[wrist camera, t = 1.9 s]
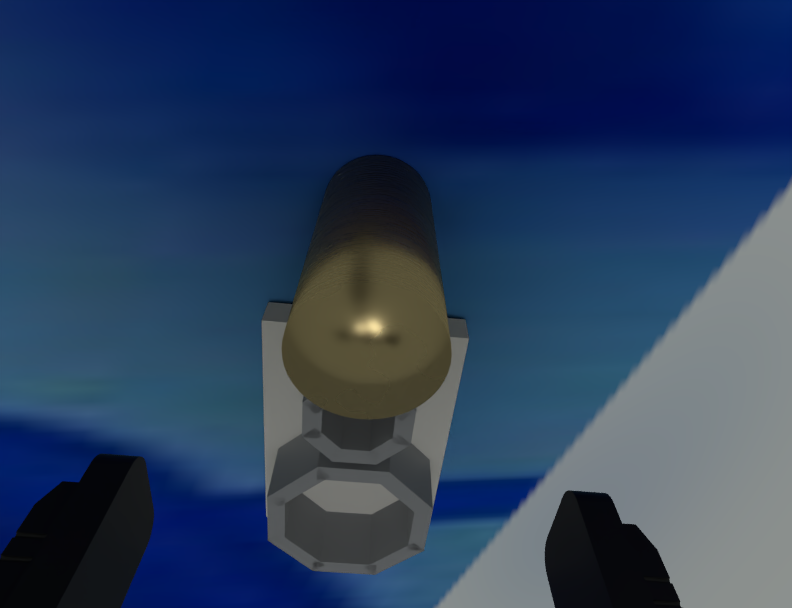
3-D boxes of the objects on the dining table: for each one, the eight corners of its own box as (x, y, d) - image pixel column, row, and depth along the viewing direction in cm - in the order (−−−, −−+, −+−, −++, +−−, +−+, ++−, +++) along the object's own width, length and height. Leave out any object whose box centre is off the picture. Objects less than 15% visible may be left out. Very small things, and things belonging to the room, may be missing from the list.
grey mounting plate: (268, 302, 25) (245, 363, 22) (465, 319, 26) (477, 382, 22) (271, 494, 32) (254, 567, 28) (427, 505, 33) (431, 578, 29)
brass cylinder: (325, 149, 22) (281, 274, 13) (438, 161, 22) (464, 291, 14) (321, 251, 24) (281, 412, 16) (423, 260, 24) (438, 425, 16)
